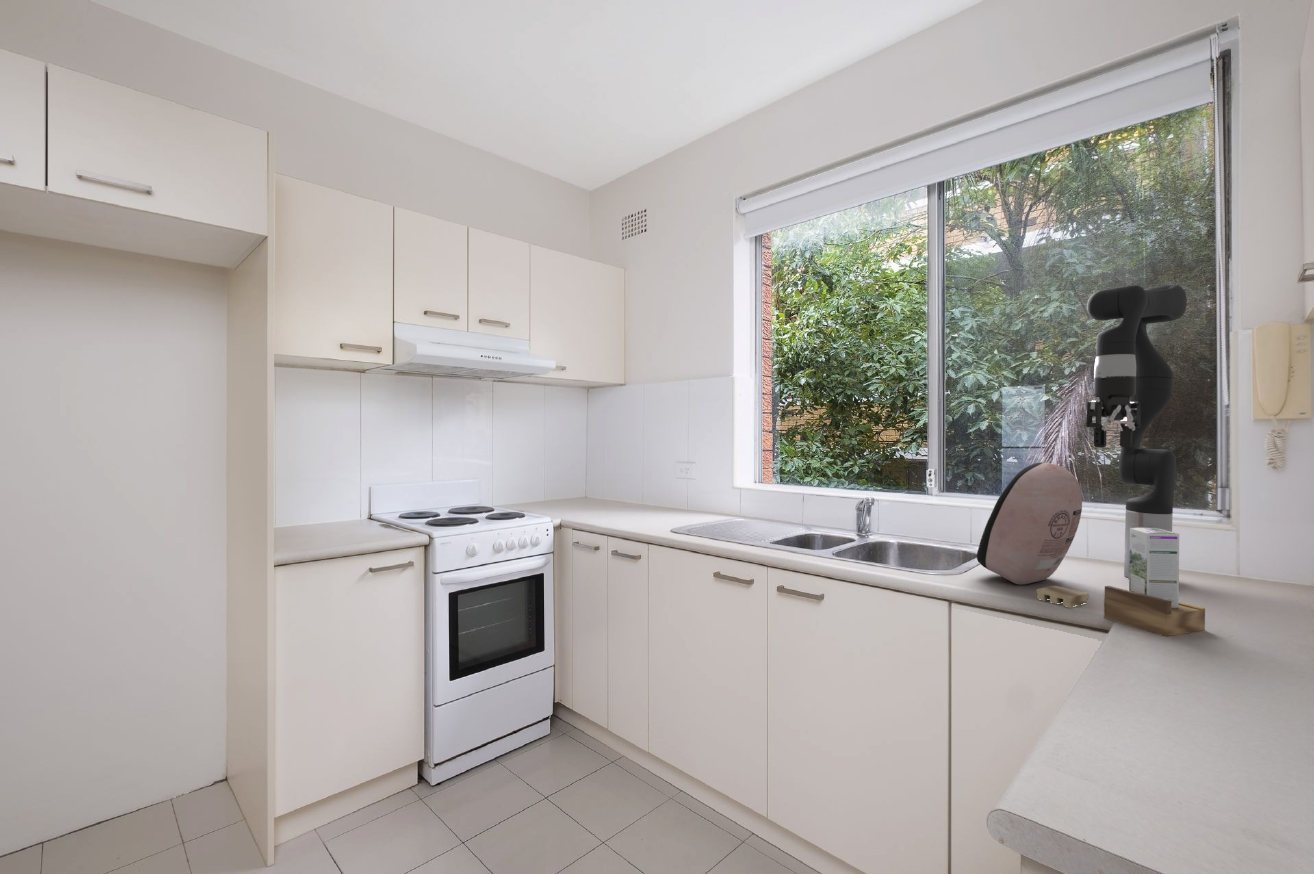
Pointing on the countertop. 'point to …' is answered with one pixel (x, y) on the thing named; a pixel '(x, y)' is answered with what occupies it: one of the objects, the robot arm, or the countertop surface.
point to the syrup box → (1154, 563)
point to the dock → (1152, 612)
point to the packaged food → (1032, 524)
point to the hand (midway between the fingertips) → (1113, 447)
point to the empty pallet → (1062, 596)
